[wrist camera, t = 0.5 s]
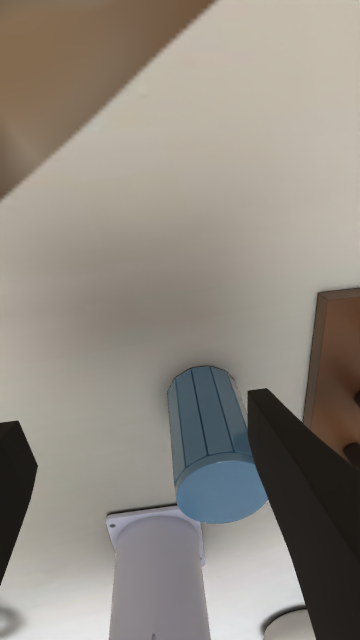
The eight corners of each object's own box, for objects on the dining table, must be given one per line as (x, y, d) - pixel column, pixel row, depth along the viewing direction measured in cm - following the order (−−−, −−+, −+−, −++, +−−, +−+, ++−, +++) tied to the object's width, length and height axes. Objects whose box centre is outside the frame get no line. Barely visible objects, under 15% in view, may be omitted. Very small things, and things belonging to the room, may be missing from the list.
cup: (236, 415, 24) (270, 517, 17) (171, 424, 24) (180, 530, 17) (235, 362, 22) (274, 454, 15) (164, 370, 21) (171, 468, 15)
